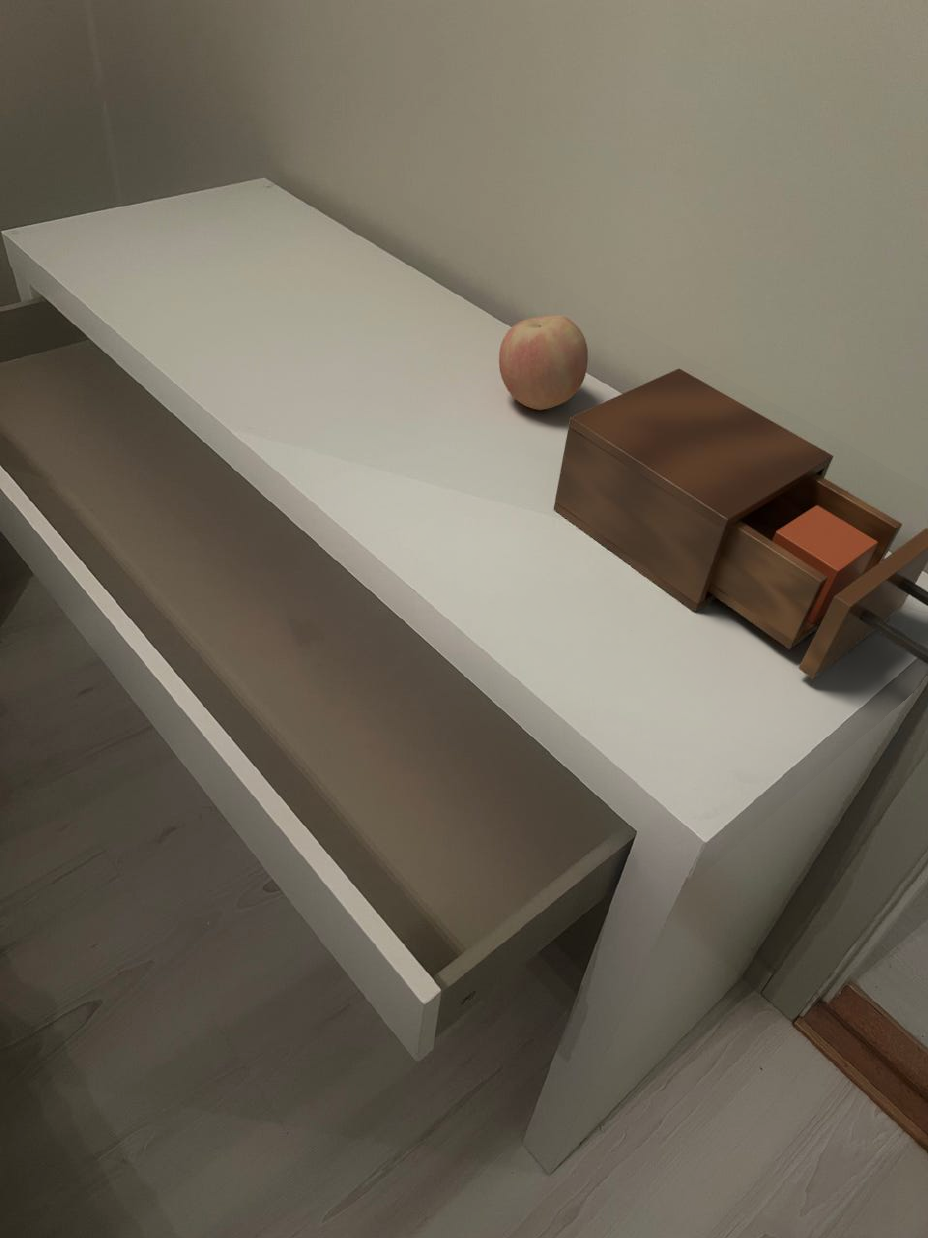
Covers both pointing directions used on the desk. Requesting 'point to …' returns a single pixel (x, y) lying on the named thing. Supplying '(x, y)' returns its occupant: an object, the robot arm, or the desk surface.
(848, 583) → the block
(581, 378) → the apple
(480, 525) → the desk surface
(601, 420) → the cabinet
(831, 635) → the drawer
